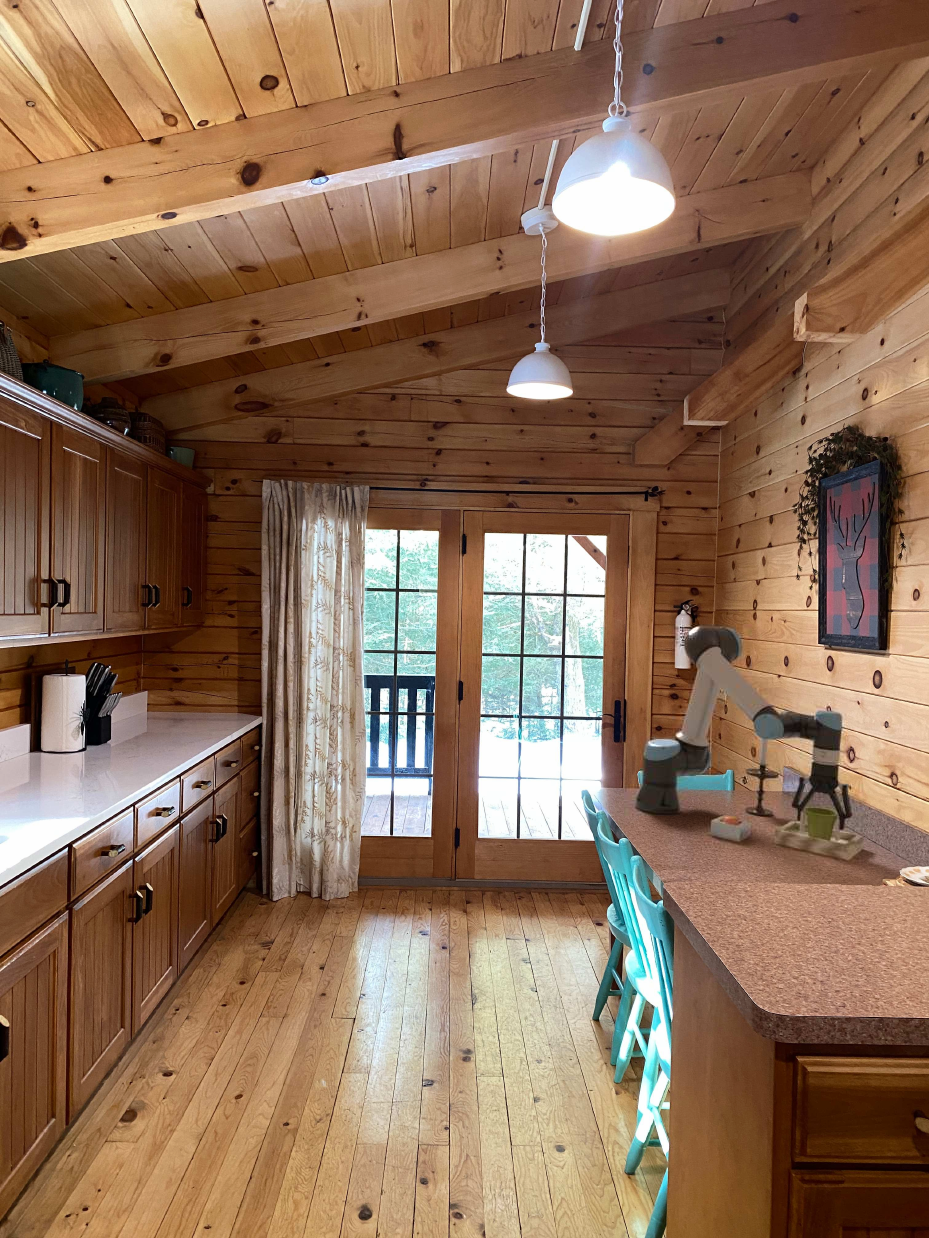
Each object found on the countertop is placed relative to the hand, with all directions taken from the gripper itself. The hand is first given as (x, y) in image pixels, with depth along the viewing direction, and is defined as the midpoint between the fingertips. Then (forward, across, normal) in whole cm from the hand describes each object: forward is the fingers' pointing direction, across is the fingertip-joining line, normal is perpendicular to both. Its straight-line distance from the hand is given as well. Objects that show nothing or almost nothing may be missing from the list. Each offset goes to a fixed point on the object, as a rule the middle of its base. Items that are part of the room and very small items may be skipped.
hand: (819, 835), depth 254 cm
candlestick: (+3, -27, +27) cm, 38 cm away
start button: (+1, -23, -12) cm, 26 cm away
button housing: (+3, -23, -12) cm, 26 cm away
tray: (+3, 0, 0) cm, 3 cm away
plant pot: (+1, 0, 0) cm, 1 cm away
